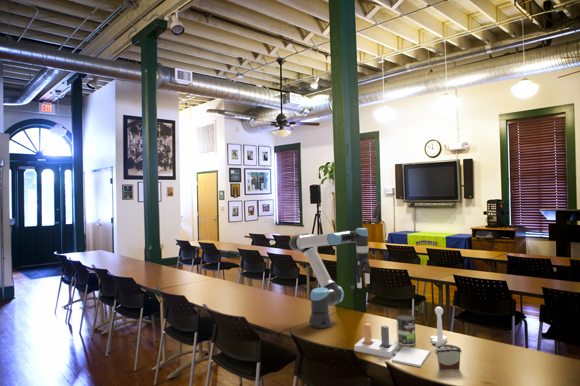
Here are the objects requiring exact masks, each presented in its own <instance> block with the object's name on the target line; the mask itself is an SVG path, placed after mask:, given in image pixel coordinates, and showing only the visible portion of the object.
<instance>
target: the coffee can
mask: <svg viewBox="0 0 580 386" xmlns="http://www.w3.org/2000/svg"><path fill="white" fill-rule="evenodd" d="M395 318H396V340H397V341H396V343H399V345H401V346H405V347H412V346H415V345H416V344H417V342H416V340H417V339H416V337H417V336H416V317H414V316H413V315H408V314H400V315H397V316H396V317H395ZM414 344H415V345H414ZM411 345H412V346H411Z"/></svg>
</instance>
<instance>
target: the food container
mask: <svg viewBox="0 0 580 386" xmlns="http://www.w3.org/2000/svg"><path fill="white" fill-rule="evenodd" d="M434 352H435V354H436V355H437V363H438V364H437V366H438V369H439V372H441V371H458V370H459V371H460V368H461V367H460V366H461V365H460V364H461V353H463V352H462V349H461V347H459V346H457V345H454V344H446V343H444V344H442V345H438V346H436V347H435V351H434Z"/></svg>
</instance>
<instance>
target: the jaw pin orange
mask: <svg viewBox="0 0 580 386" xmlns="http://www.w3.org/2000/svg"><path fill="white" fill-rule="evenodd" d="M363 338H364V344H367V345H372V339H373V338H372V324H371V323H369V322H368V323H367V322H366V323H363Z"/></svg>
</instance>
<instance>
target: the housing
mask: <svg viewBox="0 0 580 386" xmlns="http://www.w3.org/2000/svg"><path fill="white" fill-rule="evenodd" d="M399 346H400V344H399V343H397V342H395V341H389V348H383V347H382V342H381V339H377V338H372V345H367V344H364V337H362V338H361V339H359V341H357V342H356V343H355V344H354V347H353V348H354V352H358V353H364V354H369V355H374V356H380V357H383V358H384V357H385V358H389V359H390V358H391V359H392V358H393V356H394V355H393V353H394V352H395V351H398V350H399V349H400V347H399Z"/></svg>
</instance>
